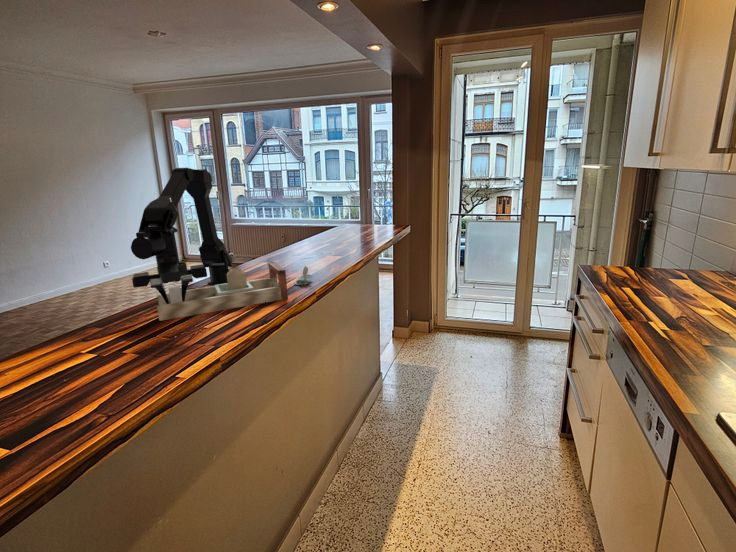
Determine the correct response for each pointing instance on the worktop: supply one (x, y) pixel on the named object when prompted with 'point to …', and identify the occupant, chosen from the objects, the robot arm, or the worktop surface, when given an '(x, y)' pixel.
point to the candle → (236, 279)
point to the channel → (226, 297)
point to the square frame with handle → (219, 289)
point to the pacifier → (304, 277)
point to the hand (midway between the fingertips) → (176, 304)
